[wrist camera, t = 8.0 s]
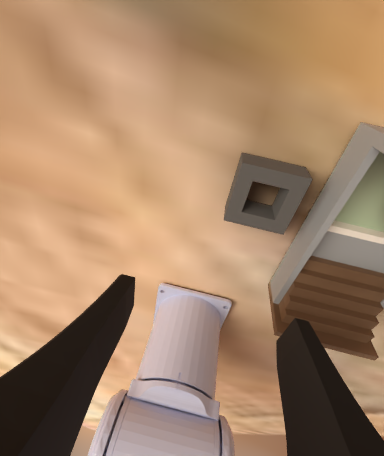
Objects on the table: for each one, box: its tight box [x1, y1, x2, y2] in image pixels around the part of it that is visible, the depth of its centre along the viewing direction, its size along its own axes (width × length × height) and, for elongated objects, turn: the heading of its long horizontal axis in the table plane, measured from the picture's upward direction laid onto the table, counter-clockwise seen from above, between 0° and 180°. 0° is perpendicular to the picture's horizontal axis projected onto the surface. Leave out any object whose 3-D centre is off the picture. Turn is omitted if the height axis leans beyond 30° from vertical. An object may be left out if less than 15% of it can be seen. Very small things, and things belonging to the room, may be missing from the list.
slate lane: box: [270, 122, 384, 308], centre depth 16 cm, size 14×8×4 cm, turn 170°
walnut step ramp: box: [268, 256, 384, 360], centre depth 19 cm, size 6×8×5 cm
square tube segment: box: [224, 153, 313, 235], centre depth 17 cm, size 4×4×2 cm
